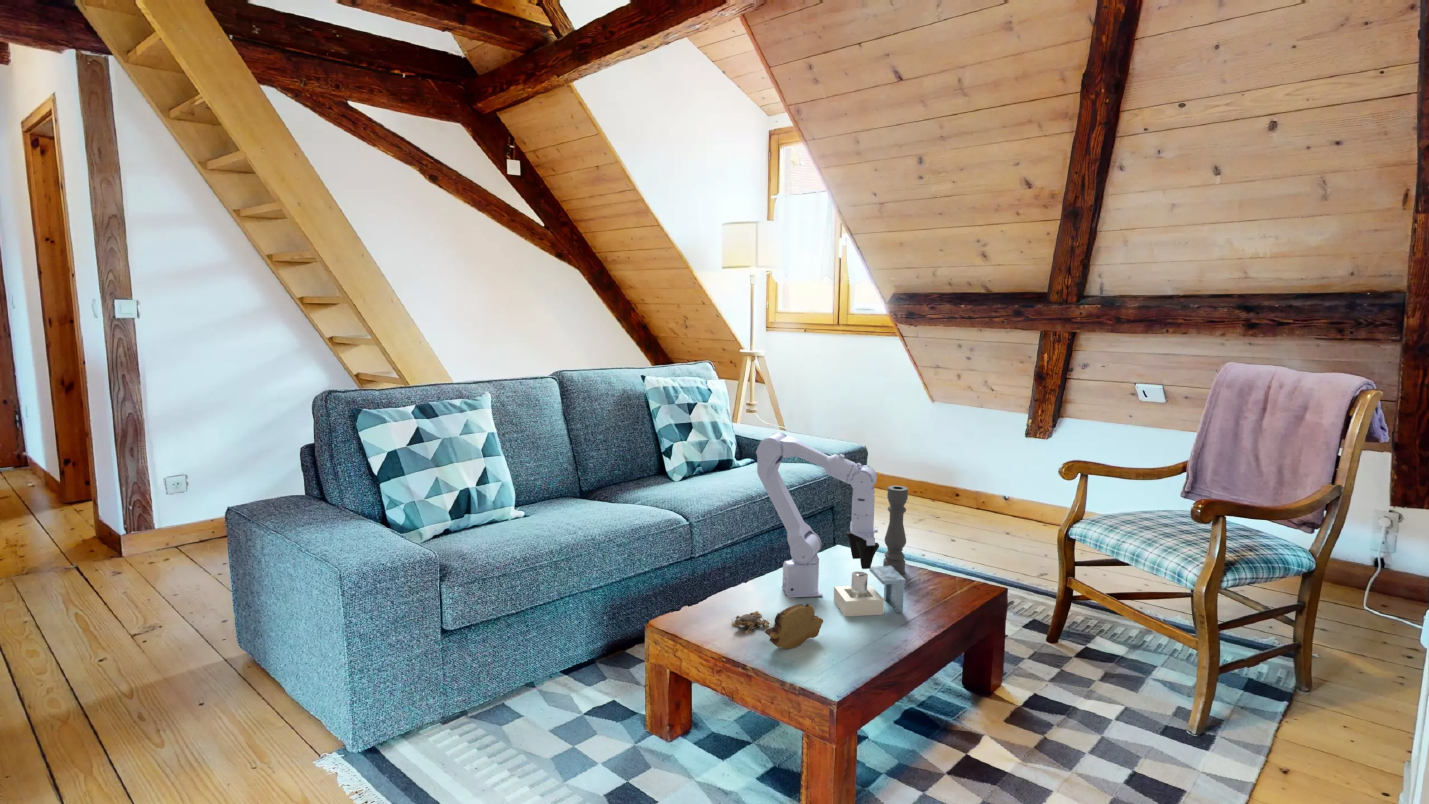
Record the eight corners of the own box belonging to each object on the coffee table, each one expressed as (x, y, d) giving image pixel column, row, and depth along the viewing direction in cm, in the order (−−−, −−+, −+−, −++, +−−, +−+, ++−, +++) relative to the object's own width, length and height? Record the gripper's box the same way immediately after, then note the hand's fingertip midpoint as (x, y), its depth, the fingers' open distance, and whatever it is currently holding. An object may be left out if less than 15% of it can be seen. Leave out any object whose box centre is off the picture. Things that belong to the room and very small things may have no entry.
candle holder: (905, 576, 232) (909, 491, 228) (883, 574, 233) (886, 490, 229) (904, 568, 238) (908, 486, 234) (883, 566, 239) (886, 484, 235)
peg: (868, 606, 207) (869, 576, 206) (853, 607, 207) (854, 577, 205) (863, 600, 211) (864, 571, 210) (848, 601, 210) (849, 571, 209)
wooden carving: (809, 632, 194) (810, 592, 193) (824, 638, 191) (825, 598, 189) (761, 652, 183) (761, 610, 182) (775, 659, 180) (776, 617, 179)
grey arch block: (881, 614, 205) (882, 580, 203) (868, 599, 215) (869, 566, 213) (903, 613, 206) (905, 579, 204) (889, 598, 215) (891, 565, 214)
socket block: (845, 616, 203) (845, 601, 203) (833, 600, 213) (834, 586, 213) (883, 614, 205) (883, 599, 204) (869, 599, 215) (870, 584, 214)
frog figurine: (752, 642, 189) (752, 627, 189) (717, 626, 198) (717, 611, 197) (785, 628, 197) (785, 613, 197) (750, 613, 206) (750, 599, 205)
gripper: (887, 520, 203) (885, 572, 205) (868, 505, 218) (866, 553, 220) (860, 521, 202) (858, 573, 204) (843, 505, 217) (841, 554, 219)
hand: (861, 563), depth 212 cm, fingers open, 7 cm apart
